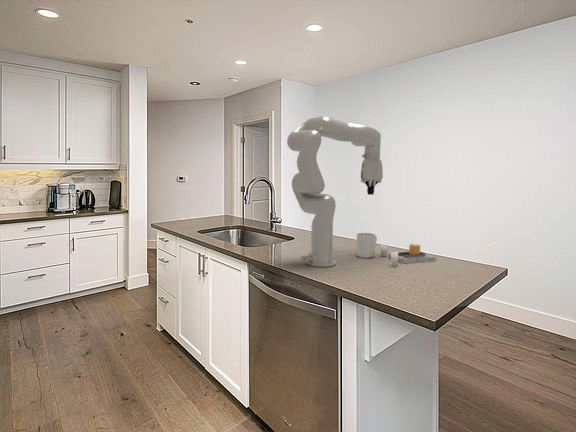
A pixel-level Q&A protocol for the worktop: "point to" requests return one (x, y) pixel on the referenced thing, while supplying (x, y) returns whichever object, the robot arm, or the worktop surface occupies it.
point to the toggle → (414, 249)
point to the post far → (384, 250)
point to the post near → (394, 259)
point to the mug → (366, 245)
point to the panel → (413, 257)
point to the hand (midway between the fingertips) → (370, 194)
